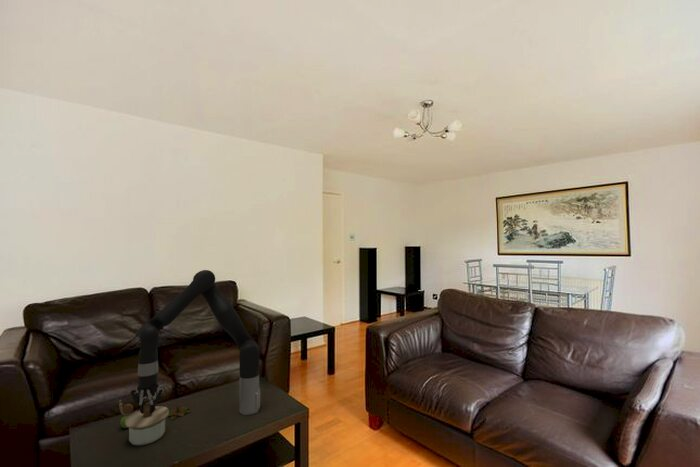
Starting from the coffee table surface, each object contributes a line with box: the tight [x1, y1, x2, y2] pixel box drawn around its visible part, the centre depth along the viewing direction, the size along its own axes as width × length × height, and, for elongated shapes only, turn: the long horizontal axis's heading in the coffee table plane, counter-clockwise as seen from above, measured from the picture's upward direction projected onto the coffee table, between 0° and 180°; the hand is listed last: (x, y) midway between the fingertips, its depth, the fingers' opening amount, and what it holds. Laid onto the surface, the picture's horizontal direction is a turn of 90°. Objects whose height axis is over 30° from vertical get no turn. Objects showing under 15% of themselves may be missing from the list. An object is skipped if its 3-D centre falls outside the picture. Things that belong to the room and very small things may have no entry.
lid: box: [125, 401, 170, 429], centre depth 140 cm, size 16×16×6 cm
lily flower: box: [167, 402, 192, 420], centre depth 160 cm, size 12×12×5 cm
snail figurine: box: [118, 399, 134, 429], centre depth 148 cm, size 5×6×12 cm
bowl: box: [128, 418, 166, 446], centre depth 140 cm, size 13×13×6 cm
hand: (147, 412), depth 140 cm, fingers closed on lid, 3 cm apart
